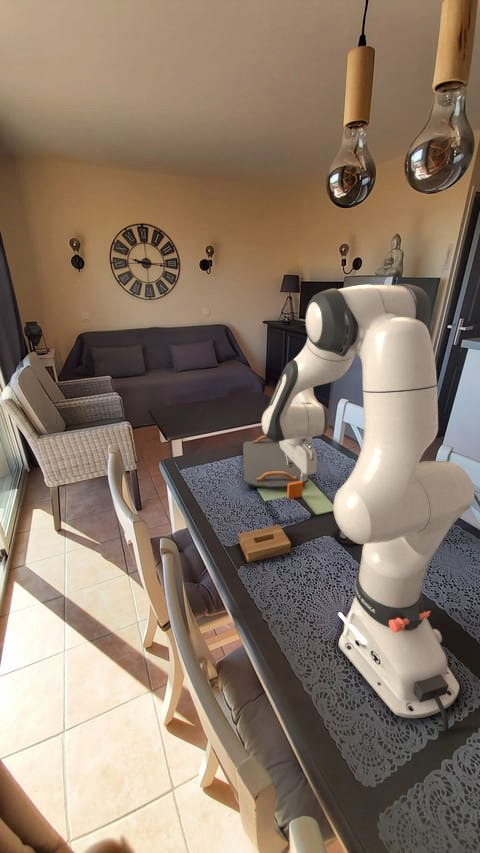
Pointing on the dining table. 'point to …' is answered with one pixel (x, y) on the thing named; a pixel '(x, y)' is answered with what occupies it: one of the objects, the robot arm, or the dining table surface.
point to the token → (294, 489)
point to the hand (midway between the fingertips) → (296, 472)
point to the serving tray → (267, 465)
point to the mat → (309, 494)
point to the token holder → (264, 543)
